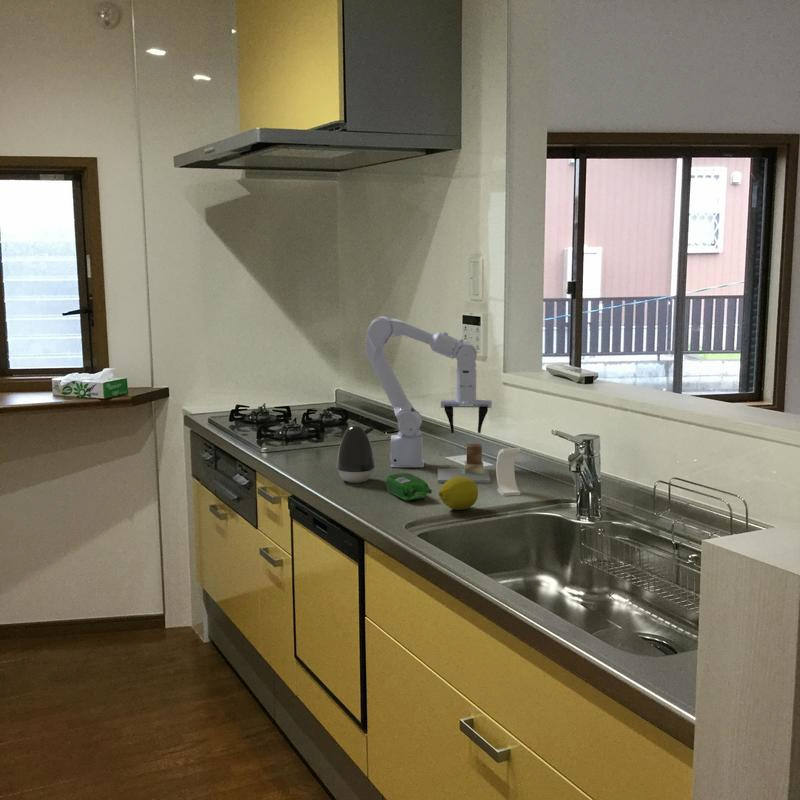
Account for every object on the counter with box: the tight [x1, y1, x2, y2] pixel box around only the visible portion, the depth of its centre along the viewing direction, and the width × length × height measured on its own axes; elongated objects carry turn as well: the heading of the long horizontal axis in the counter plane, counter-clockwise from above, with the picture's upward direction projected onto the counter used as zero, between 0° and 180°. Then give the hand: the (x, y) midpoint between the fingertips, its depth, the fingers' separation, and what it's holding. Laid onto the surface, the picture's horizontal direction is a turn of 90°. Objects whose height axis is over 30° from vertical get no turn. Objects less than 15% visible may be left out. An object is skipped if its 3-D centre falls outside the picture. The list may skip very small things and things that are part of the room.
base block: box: [464, 460, 484, 474], centre depth 263 cm, size 5×5×2 cm
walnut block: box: [466, 443, 483, 465], centre depth 262 cm, size 4×4×5 cm
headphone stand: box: [495, 447, 522, 497], centre depth 242 cm, size 5×6×12 cm
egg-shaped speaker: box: [336, 424, 375, 484], centre depth 255 cm, size 10×10×15 cm
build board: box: [437, 468, 491, 484], centre depth 260 cm, size 14×14×1 cm
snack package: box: [384, 472, 433, 501], centre depth 239 cm, size 7×16×5 cm, turn 23°
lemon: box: [438, 477, 479, 511], centre depth 226 cm, size 11×8×8 cm
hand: (465, 432), depth 272 cm, fingers open, 7 cm apart
